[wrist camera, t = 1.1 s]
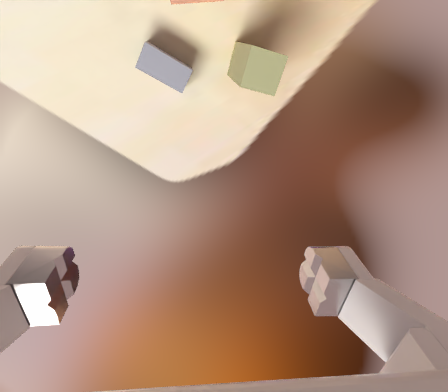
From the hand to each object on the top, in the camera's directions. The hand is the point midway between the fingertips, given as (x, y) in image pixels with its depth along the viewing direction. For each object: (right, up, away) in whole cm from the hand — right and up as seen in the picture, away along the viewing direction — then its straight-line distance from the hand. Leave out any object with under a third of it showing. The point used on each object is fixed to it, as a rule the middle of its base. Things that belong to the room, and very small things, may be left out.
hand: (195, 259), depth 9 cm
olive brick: (+4, +20, +26) cm, 33 cm away
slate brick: (-7, +19, +25) cm, 32 cm away
